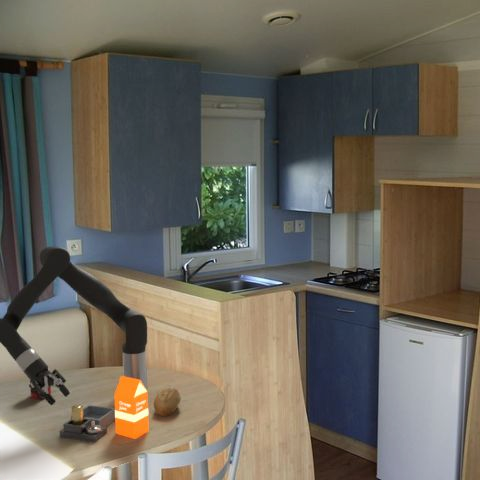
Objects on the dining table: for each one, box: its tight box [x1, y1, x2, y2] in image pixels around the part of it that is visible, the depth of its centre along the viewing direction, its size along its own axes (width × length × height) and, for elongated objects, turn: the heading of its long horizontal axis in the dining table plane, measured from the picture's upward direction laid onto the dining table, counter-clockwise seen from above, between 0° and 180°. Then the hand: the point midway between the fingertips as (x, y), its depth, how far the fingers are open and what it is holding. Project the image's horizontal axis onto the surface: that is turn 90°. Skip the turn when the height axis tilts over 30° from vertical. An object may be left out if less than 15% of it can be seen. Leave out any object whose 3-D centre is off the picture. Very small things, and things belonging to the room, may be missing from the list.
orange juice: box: [113, 375, 150, 440], centre depth 252 cm, size 8×9×20 cm
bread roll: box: [153, 388, 182, 417], centre depth 273 cm, size 10×15×8 cm, turn 175°
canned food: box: [29, 366, 52, 400], centre depth 289 cm, size 8×8×11 cm
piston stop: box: [70, 404, 84, 426], centre depth 252 cm, size 4×4×8 cm
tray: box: [70, 404, 115, 427], centre depth 262 cm, size 12×12×4 cm
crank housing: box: [58, 418, 108, 443], centre depth 251 cm, size 8×14×6 cm, turn 69°
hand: (60, 399), depth 253 cm, fingers open, 8 cm apart
